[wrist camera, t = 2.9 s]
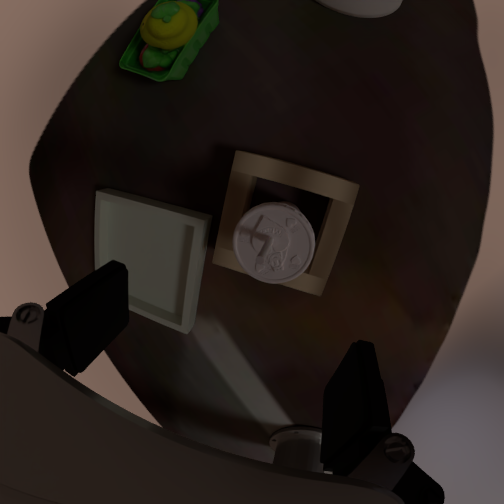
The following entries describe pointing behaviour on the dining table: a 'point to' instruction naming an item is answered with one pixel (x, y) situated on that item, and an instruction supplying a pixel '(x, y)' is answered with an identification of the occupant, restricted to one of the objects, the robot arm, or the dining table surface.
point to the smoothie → (274, 242)
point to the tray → (154, 253)
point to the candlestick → (362, 7)
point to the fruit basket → (170, 38)
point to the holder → (294, 175)
